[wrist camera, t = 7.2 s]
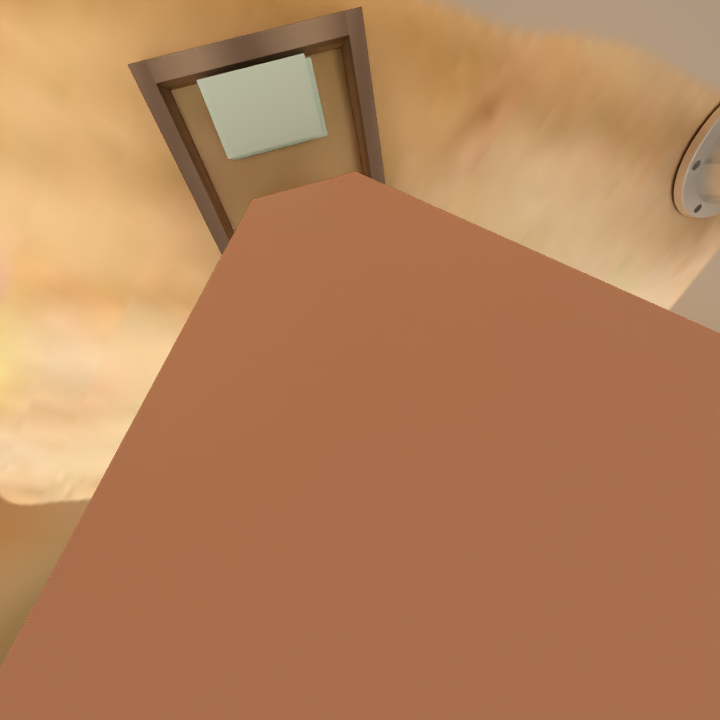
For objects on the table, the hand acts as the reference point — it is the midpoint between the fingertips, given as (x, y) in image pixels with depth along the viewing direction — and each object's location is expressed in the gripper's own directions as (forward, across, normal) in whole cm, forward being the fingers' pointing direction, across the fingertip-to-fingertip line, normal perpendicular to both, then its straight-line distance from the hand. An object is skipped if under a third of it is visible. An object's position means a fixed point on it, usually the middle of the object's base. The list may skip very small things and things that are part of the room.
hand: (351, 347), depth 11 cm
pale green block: (+20, +1, -8) cm, 22 cm away
